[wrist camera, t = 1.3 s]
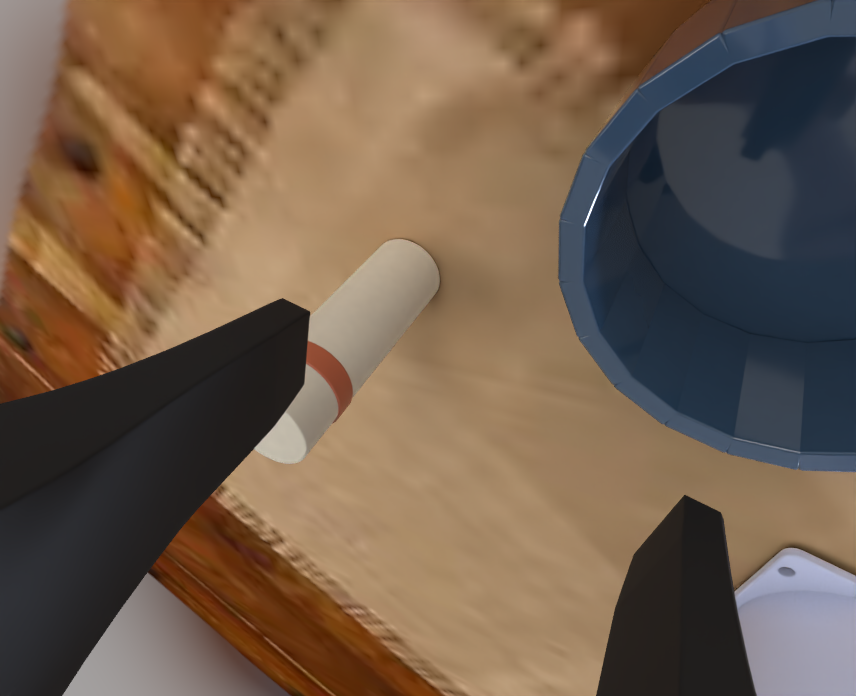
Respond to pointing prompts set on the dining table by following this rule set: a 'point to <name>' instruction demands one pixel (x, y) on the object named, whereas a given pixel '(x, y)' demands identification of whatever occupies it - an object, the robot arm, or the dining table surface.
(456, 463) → the dining table surface
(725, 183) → the holder
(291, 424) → the dowel
